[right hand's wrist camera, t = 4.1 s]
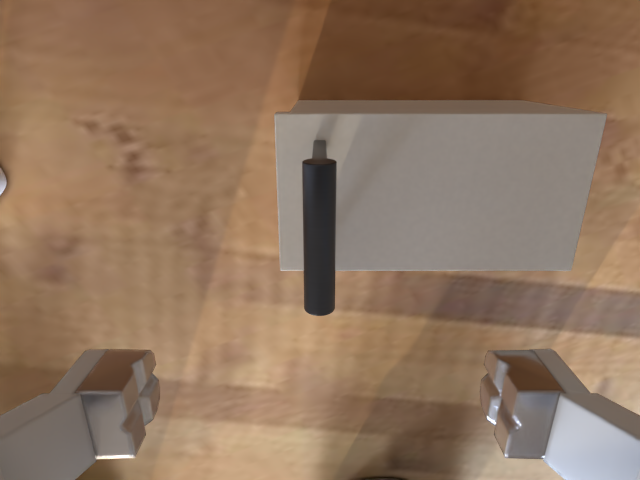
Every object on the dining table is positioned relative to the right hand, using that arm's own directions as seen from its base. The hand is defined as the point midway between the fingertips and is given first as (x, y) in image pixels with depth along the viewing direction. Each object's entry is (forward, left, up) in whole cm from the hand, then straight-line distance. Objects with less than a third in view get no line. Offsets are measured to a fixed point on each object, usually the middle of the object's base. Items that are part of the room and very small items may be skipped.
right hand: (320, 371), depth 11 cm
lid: (+4, -6, -17) cm, 18 cm away
